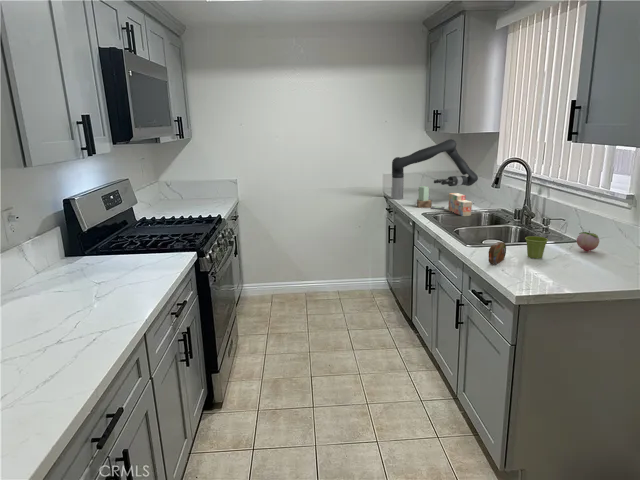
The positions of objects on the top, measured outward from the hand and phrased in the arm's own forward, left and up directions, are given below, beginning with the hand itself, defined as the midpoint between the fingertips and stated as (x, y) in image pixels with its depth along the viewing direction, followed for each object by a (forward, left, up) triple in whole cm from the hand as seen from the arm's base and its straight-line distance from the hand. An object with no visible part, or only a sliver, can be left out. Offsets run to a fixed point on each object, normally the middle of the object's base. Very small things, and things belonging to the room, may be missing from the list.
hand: (437, 182), depth 326 cm
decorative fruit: (+77, -108, -17) cm, 134 cm away
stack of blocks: (+17, -28, -17) cm, 37 cm away
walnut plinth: (-9, -10, -17) cm, 21 cm away
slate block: (-9, +3, -17) cm, 19 cm away
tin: (+36, -135, -17) cm, 140 cm away
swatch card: (+2, -14, -17) cm, 22 cm away
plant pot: (+53, -123, -17) cm, 135 cm away
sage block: (-9, -10, -12) cm, 18 cm away
